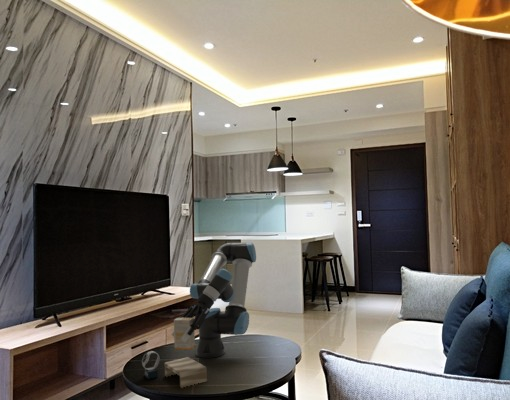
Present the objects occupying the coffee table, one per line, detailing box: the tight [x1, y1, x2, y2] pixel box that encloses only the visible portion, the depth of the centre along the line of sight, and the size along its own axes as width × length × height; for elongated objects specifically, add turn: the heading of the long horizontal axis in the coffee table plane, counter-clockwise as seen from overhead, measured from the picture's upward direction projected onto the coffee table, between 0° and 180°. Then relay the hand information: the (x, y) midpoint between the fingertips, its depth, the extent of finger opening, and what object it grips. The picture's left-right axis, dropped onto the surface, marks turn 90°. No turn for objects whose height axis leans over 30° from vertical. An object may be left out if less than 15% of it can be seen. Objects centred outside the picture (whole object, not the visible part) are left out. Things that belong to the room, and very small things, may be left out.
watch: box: [141, 350, 161, 380], centre depth 184 cm, size 6×8×11 cm
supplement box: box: [173, 317, 196, 351], centre depth 181 cm, size 8×5×13 cm, turn 71°
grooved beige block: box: [164, 356, 208, 389], centre depth 180 cm, size 18×12×6 cm, turn 36°
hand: (178, 338), depth 179 cm, fingers closed on supplement box, 9 cm apart
